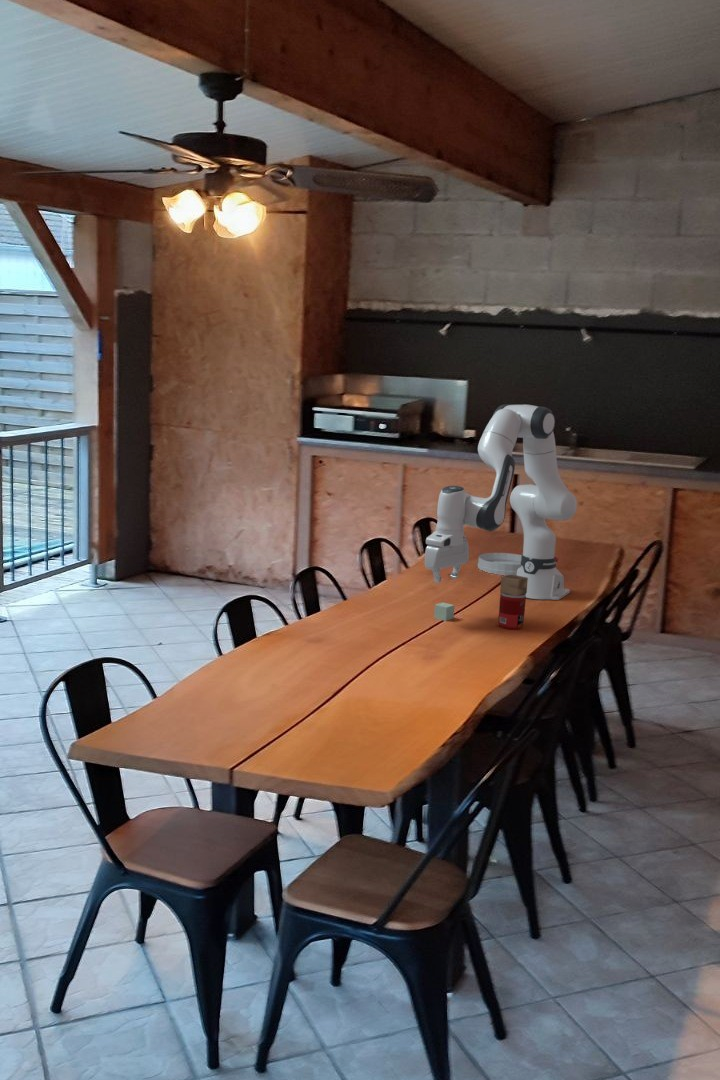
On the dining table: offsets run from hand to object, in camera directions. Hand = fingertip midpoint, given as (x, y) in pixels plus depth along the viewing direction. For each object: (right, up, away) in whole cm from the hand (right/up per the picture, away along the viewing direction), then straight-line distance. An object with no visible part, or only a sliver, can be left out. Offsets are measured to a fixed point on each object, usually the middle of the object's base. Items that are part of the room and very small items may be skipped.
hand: (445, 580), depth 339 cm
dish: (+30, 0, +80) cm, 85 cm away
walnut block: (+21, -4, -5) cm, 22 cm away
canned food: (+20, -15, -3) cm, 25 cm away
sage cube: (0, -12, +3) cm, 13 cm away
